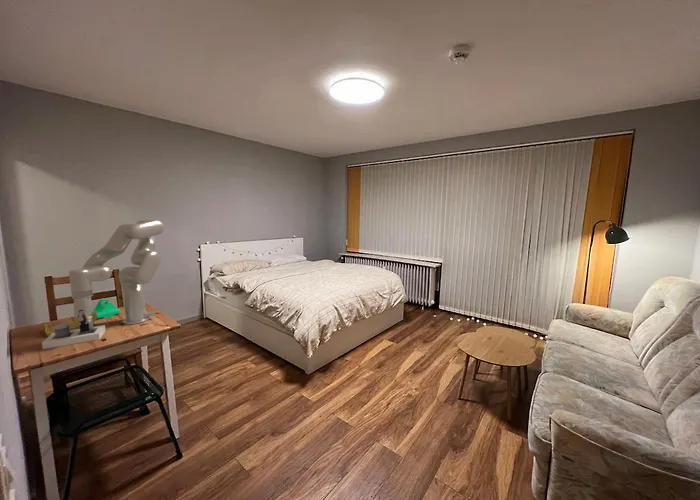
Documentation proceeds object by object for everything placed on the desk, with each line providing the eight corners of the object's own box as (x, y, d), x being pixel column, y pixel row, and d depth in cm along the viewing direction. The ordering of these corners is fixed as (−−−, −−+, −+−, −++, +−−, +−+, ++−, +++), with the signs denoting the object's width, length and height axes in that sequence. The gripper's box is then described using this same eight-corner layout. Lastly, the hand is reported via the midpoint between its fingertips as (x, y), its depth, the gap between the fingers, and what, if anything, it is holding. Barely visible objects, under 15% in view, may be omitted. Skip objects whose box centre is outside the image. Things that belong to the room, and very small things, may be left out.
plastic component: (45, 334, 141) (45, 321, 147) (49, 344, 145) (49, 331, 151) (97, 321, 154) (95, 309, 160) (100, 330, 158) (98, 319, 164)
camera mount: (96, 320, 165) (93, 303, 164) (92, 317, 170) (89, 301, 168) (121, 314, 175) (119, 298, 174) (117, 311, 180) (115, 296, 178)
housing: (105, 331, 150) (104, 325, 150) (99, 340, 140) (98, 333, 139) (53, 339, 140) (52, 333, 140) (42, 350, 130) (41, 343, 130)
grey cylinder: (72, 338, 141) (70, 322, 140) (69, 342, 137) (66, 326, 136) (58, 340, 139) (56, 324, 138) (54, 344, 135) (52, 328, 133)
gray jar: (82, 331, 143) (80, 316, 142) (95, 329, 145) (93, 314, 144) (78, 335, 138) (76, 319, 137) (92, 333, 141) (90, 317, 140)
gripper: (77, 290, 145) (82, 324, 147) (65, 299, 130) (70, 337, 132) (97, 288, 148) (101, 322, 151) (87, 297, 134) (91, 334, 136)
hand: (86, 328), depth 142 cm, fingers closed on gray jar, 4 cm apart
